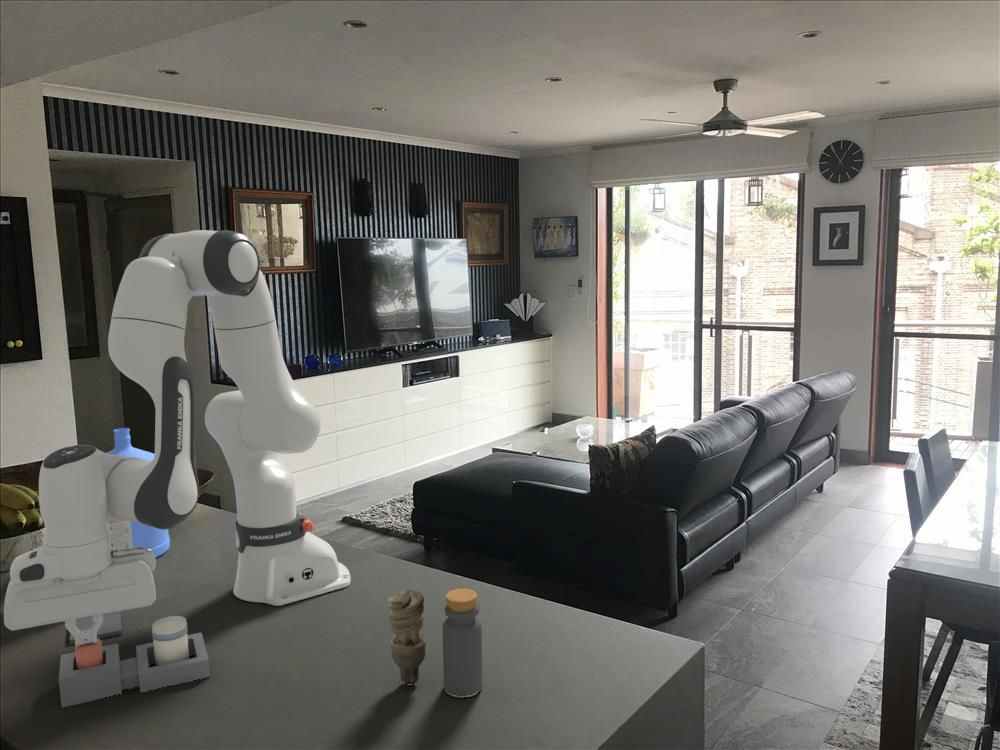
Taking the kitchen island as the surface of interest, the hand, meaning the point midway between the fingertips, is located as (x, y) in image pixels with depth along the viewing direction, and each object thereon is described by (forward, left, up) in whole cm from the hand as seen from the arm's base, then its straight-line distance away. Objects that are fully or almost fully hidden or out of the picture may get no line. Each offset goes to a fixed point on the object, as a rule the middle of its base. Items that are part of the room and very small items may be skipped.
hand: (86, 643), depth 122 cm
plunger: (0, 0, -5) cm, 5 cm away
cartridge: (-12, 0, -8) cm, 14 cm away
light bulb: (-44, +21, -8) cm, 49 cm away
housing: (-7, 0, -7) cm, 10 cm away
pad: (-1, -21, -7) cm, 22 cm away
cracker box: (-2, -39, -8) cm, 40 cm away
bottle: (-51, +26, -8) cm, 57 cm away
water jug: (-8, -58, -8) cm, 59 cm away
